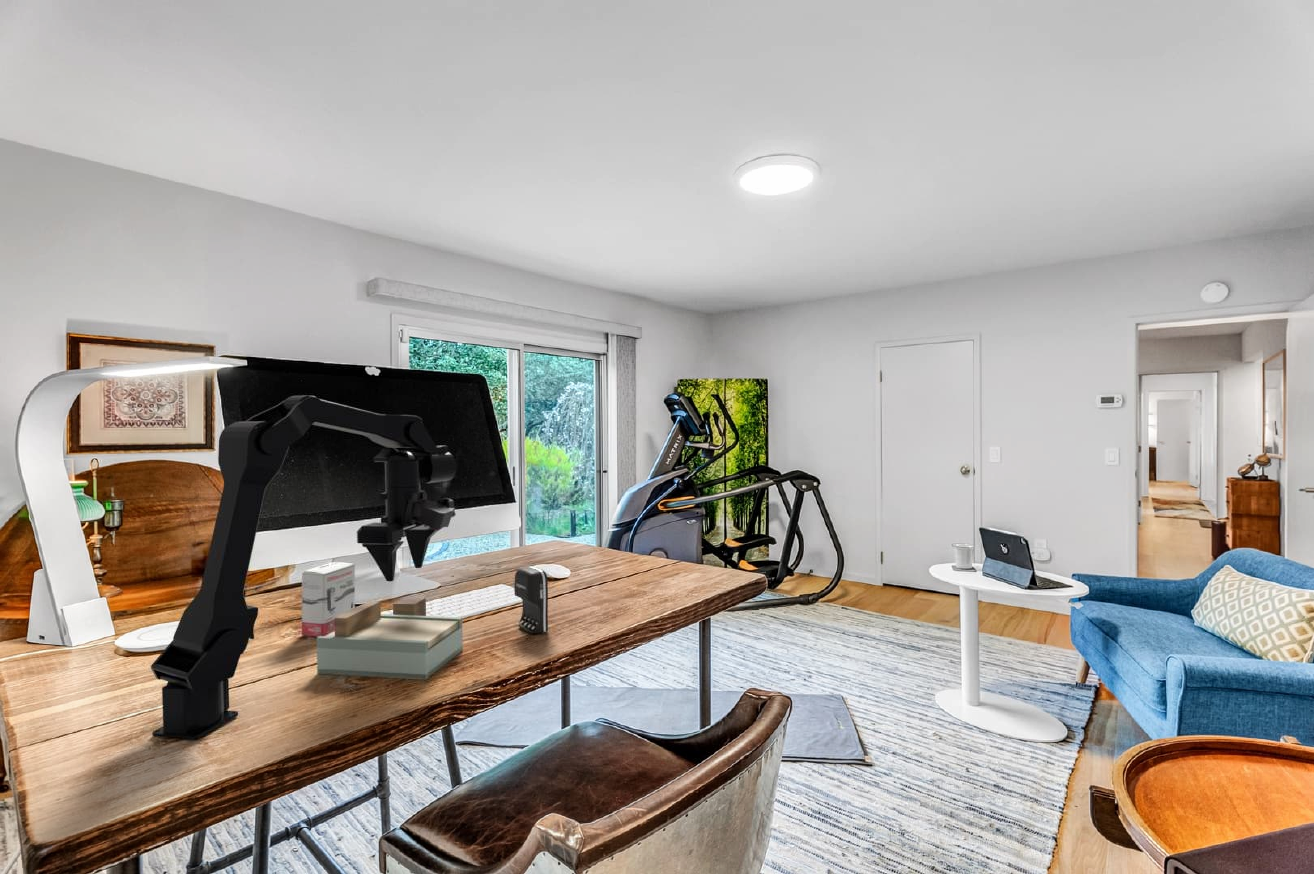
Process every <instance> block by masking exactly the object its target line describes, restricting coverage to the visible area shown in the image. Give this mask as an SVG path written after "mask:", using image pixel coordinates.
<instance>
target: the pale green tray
mask: <svg viewBox="0 0 1314 874" xmlns="http://www.w3.org/2000/svg"><path fill="white" fill-rule="evenodd" d="M381 618H391V619H415V620H440V621H458V628H456V629H455V630H453V631H452V632H451V633H449V634H448V635H446V636H445V637H444V638H442V639H441V640H439V641H438V642H437V643H435V644H434V645H432V646H431V647H430V648H428V641H418V640H396V639H374V638H353V637H331V636H319V637H317V636H316V666H317V667H316V669H317V674H320V675H332V676H333V675H334V676H337V675H338V676H350V677H351V676H352V677H354V676H355V677H371V678H373V677H374V678H388V679H406V680H409V679H410V680H422V681H423V680H424V681H425V680H427V679H429V678H430V677H431V676H432V675H434V674H435V673H436V672H438V671H439V670H440V669H441V668H443V667H444V666H445V665H446V664H448V663H449V662H450V661H451V660H452V659H454V658H455V657H457V656H458V655H459V654H460V653H461V652H462V651H464V649H463V648H464V645H463V644H464V643H463V642H464V639H463V634H464V633H463V617H461V616H459V617H457V616H438V615H437V616H435V615H433V616H432V615H426V616H413V615H393V614H387V613H386V614H383V613H381Z"/></svg>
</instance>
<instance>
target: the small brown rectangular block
mask: <svg viewBox="0 0 1314 874" xmlns="http://www.w3.org/2000/svg"><path fill="white" fill-rule="evenodd" d="M392 615H413V616H427V598H426V597H415V596H414V597H411V596H410V597H408V596H404V597H403V598H400V599H399V600H397V601H395V602H393V603H392Z"/></svg>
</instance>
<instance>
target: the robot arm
mask: <svg viewBox="0 0 1314 874" xmlns="http://www.w3.org/2000/svg"><path fill="white" fill-rule="evenodd" d="M312 425H313V426H317V427H323V428H327V429H332V430H337V431H341V432H347V433H351V434H357V435H361V436H364V437H367V438H368V439H369V440H370V441H372V442H374V443H376V444H378V445H381V446H383V448H382V449H381V450H380V452H379V453H378V454H376V456H374V457H373V459H372V460H373V462H374V463H384V473H385V474H384V482H385V483H384V485H385V489H384V490H385V491H384V492H382V493H379V494H380V495H379V496H380V497H379V498H380V500H385V515H384V516H381V517H380V522H371V523H368V524H363V525H361V526H360V528H358V530H356V543H357V544H361V545H362V547H363V548H366V550H367V551H368V552H369V554H370V556H371V557H372V558H373V559H374V561H375V563H376V566H378V568H379V571H380V572H381V574H382V576H384V578H385V580H386V581H387V582H393V581H394V580H395V574H396V564H397V562H396V561H397V552H398V550H399V549H400V548H401V546H402V545H403V544H404V543H405V541H404V540H402V538H403V536H404V535H405V538H406V541H407V545H408V548H409V549H408V550H409V552H410V556H411V560H412V563H413V565H414V568H415V569H422V568H423V564H424V560H425V558H426V557H425V556H426V554H427V551H428V547H429V545H430V544H429V543H430V541H431V538H432V537H433V536H434V535H435V534H437V532H439V531H440V530H442V529H444V528H448V527H449V526H450V522H451V521H452V520H451V519H452V518H454V517H455V516H456V515H457V514H456V512H455V510H456V507H455V505H454V504H455V503H454V500H453V499H451V498H448V497H445V498H444V497H443V498H441V499H440V500H439V502H438V501H437V500H434V501H432V500H429V499H428V493H427V492H426V490H421V484H425V485H426V484H432V483H433V484H434V483H440V482H447V481H448V482H449V481H451V480H452V479H453V478H455V476H456V473H457V470H458V463H457V462H456V459H455V457H454V456H453V454H452V453H451V452H449V446H448V445H436V444H435V442H434V440H433V438H432V436H431V435H430V433H429V432H428V430H427V428H426V426H425V424H424V422H423V419H422V418H421V417H420V416H418V415H416V414H415V415H414V414H394V413H393V414H390V413H388V414H387V413H386V414H384V413H377V412H373V411H369V410H365V409H362V408H356V407H353V406H349V405H345V404H342V403H341V404H340V403H337V402H333V401H328V400H325V399H321V398H318V397H317V396H315V395H309V394H308V395H307V394H306V395H304V394H303V395H292V396H288V397H287V398H286V399H284V400H282V401H281V402H279V403H278V404H277V405H274V406H272V407H269V408H268V409H266V410H264V411H261V412H259V413H257V414H255V415H253V416H251V417H250V418H248V419H246V420H245V421H236V422H233V423H230V425H227V426H226V427H224V428H223V430H221V433H220V436H219V437H218V438H219V439H218V454H217V455H218V456H217V459H218V460H217V461H218V466H219V469H220V473H221V477H222V480H223V487H222V492H221V495H220V496H221V497H220V500H219V506H218V508H217V509H218V510H217V514H216V517H215V522H214V526H213V527H214V528H213V532H212V537H211V539H210V540H211V541H210V545H209V549H208V554H207V558H206V563H205V569H204V571H203V576H202V580H201V584H200V589H199V591H198V593H197V594H196V595H195V597H194V598H193V599H192V600H191V601H190V603H189V604H188V605H187V606H186V607H185V609H184V610H183V612H182V614H181V618H180V620H179V622H178V623H177V627H176V629H175V632H174V635H173V638H172V641H170V643H168V645H167V646H166V647H165V649H164V650H163V651H162V652H161V653H160V655H158V656H157V658H156V659H155V660H154V662H152V664H151V665H150V670H151V671H152V673H153V674H154V675H153V676H155V679H156V680H159V681H160V680H161V681H166V682H167V683H166V685H165V686H162V687H161V703H162V704H161V705H162V726H160V727H159V728H157V729H155V730H153V731H152V733H151V734H152V735H151V736H152V737H159V738H170V739H171V738H172V739H183V740H197V739H200V738H202V737H203V736H205V735H207V734H209V733H210V732H212V731H214V730H215V729H217V728H219V727H220V726H222V725H224V724H226V723H228V722H229V721H232V720H233V719H234V718H236V717H238V716H239V711H237V710H230V691H229V688H230V687H229V684H230V683H229V681H230V680H229V679H232V678H234V676H235V673H236V670H237V667H238V664H239V662H240V657H241V655H243V654H244V653H245V651H246V649H247V647H248V644H249V643H250V642H249V641H250V640H254V639H255V634H254V630H255V629H254V627H255V623H256V621H257V618H258V615H259V607H258V606H253V605H248V604H247V600H246V598H245V594H244V593H245V587H246V582H247V578H248V572H249V568H250V564H251V563H250V562H251V560H252V554H253V550H254V544H255V539H256V535H257V531H258V526H259V521H260V516H261V511H262V507H263V502H264V498H265V494H266V489H267V487H268V486H269V485H270V483H271V481H273V480H274V478H275V477H276V476H277V474H278V473H279V472H280V470H281V469H282V466H283V464H284V461H285V459H286V457H287V454H288V451H289V448H290V446H292V445H293V444H294V443H296V442H298V441H299V440H300V439H302V437H304V436H305V434H306V432H308V430H309V428H310V427H311V426H312ZM401 540H402V541H401Z"/></svg>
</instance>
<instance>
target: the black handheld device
mask: <svg viewBox="0 0 1314 874" xmlns="http://www.w3.org/2000/svg"><path fill="white" fill-rule="evenodd" d="M513 584H514V587H513V588H514V596H515V597H518V598H520V599H521V600H522V613H521V617H520V620H519V622H518V627H519V628H520V629H521V630H522V631H525V632H527V633H530V634H532V635H534V634H535V635H536V634H541V633H546V632H548V630H549V618H548V617H549V610H548V609H549V588H548V587H549V585H548V575H547V573H546V571H545V570H543V569H541V568H538V567H535V566H527V567H522V568H519V569H518V570H516V572H515V574H514V583H513Z"/></svg>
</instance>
